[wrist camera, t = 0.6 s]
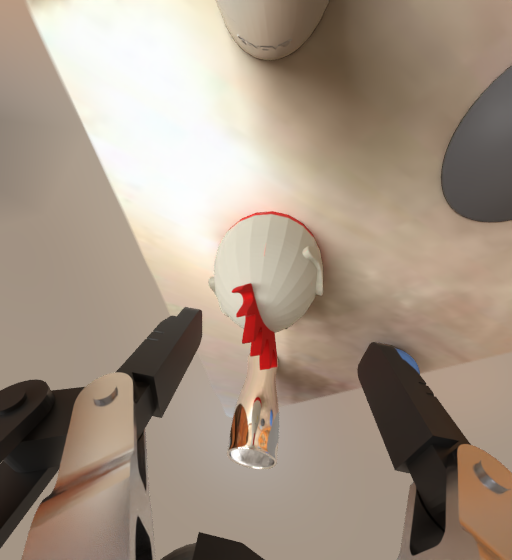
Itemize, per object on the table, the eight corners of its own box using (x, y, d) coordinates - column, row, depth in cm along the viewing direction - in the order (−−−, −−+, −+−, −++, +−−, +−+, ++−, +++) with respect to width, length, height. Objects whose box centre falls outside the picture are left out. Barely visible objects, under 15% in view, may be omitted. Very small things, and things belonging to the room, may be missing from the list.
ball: (375, 336, 31) (393, 370, 25) (413, 343, 30) (439, 379, 25) (360, 359, 34) (374, 394, 29) (395, 366, 33) (415, 402, 28)
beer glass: (281, 371, 38) (280, 473, 26) (248, 370, 40) (230, 466, 27) (279, 348, 35) (276, 451, 22) (243, 347, 36) (220, 444, 23)
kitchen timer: (243, 310, 32) (215, 406, 19) (203, 234, 26) (121, 298, 13) (329, 289, 28) (367, 394, 15) (304, 193, 22) (331, 229, 9)
